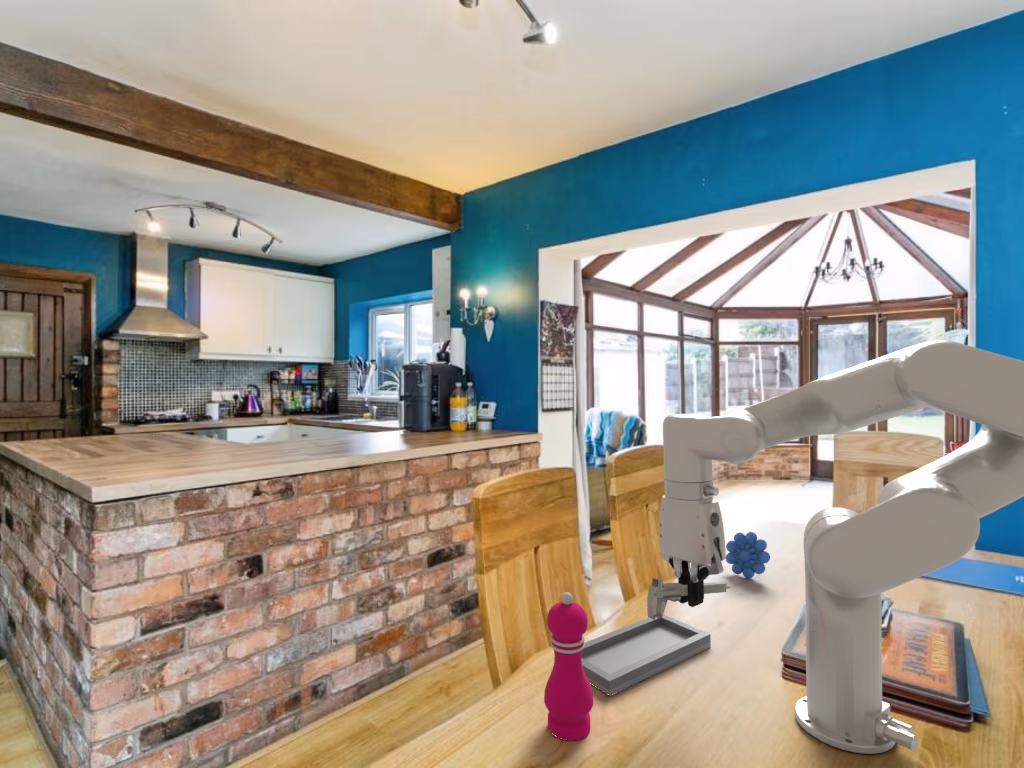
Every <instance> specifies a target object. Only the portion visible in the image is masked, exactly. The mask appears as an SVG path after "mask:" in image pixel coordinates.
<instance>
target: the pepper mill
mask: <svg viewBox="0 0 1024 768" xmlns="http://www.w3.org/2000/svg"><path fill="white" fill-rule="evenodd" d="M560 600H561V601H559V602H557V603H556V602H555V604H553V605H552V606H551V607H550V609H549V610H548V612H547V617H546V625H547V628H548V631H549V632H550V633H551V635H550V647H551V649H553V651H554V657H553V658H554V660H553V661H554V662H553V667H552V669H551V673H550V675H549V677H548V680H547V681H546V685H545V688H544V694H543V695H544V697H543V700H544V705H545V708H546V710H547V711H548V713H547V729H548V728H549V729H548V731H549V730H550V731H549V733H550V732H551V733H553V734H554V735H556V736H557V737H559V738H562V739H567V740H575V741H579V740H578V739H580V740H582V739H583V738H586V737H587V736H588V735H589V733H590V732H591V715H590V712H591V710H592V709H593V706H594V695H593V694H594V693H593V689H592V685H590V683H589V681H588V679H587V677H586V675H585V672H584V670H583V666H582V659H581V654H582V650H583V648H584V647H585V635H584V634H585V633H586V631H587V629H588V624H589V622H588V621H589V620H588V615H587V613H586V610H585V609H584V607H583V606H582V605H580V604H579V603H577V602H575V601H574V597H573V595H572V593H570V592H567V591H566V592H562V594H561V596H560ZM551 733H550V734H551ZM557 737H556V738H557ZM559 738H558V739H559Z"/></svg>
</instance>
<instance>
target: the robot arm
mask: <svg viewBox="0 0 1024 768" xmlns="http://www.w3.org/2000/svg"><path fill="white" fill-rule="evenodd" d="M930 407H931V408H934V409H936V410H939V411H942V412H945V413H948V414H950V415H954V416H957V417H959V418H961V419H962V418H963V419H964V420H968V421H971V422H974V423H978V424H980V425H981V426H980V428H979V430H978V432H977V433H976V435H975V436H974V437H972V438H971V440H969V441H968V442H967V443H965V444H963V445H961V446H960V447H958V448H956V449H955V450H953V451H951V452H949V453H948V454H946V455H944V456H942V457H939V458H938V459H935V460H933V461H932V462H930V463H928V464H925V465H923V466H922V467H919V468H917V469H915V470H912V471H911V472H908V473H906V474H903V475H901V476H898V477H897V478H895V479H893V480H890V481H889V482H888V483H886V484H885V485H884V486H883V487H882V488H881V490H880V491H879V493H878V494H877V495H878V496H877V498H876V505H874V506H872V507H870V508H868V509H866V510H864V511H861V512H860V513H858V512H857V511H855V510H852V509H849V508H846V507H845V508H844V507H837V506H836V507H827V508H825V509H821V510H820V511H818V512H816V513H815V514H814V515H813V516H811V518H810V519H809V520H808V522H807V524H806V526H805V529H804V533H803V554H804V578H805V580H804V583H805V584H804V585H805V586H804V587H805V588H804V589H805V613H804V614H805V672H806V673H805V674H806V675H805V676H806V677H805V679H806V681H805V682H806V685H805V688H806V692H805V693H806V696H803V697H801V698H800V699H798V700H797V702H796V703H795V707H794V708H795V709H794V712H795V719H796V720H797V723H798V724H799V725H800V726H801V728H802V729H803V730H805V731H806V733H808V734H809V735H811V736H812V737H814V738H815V739H817V740H819V741H820V742H823V743H824V744H828V746H831V747H834V748H836V749H837V748H838V749H840V750H843V751H846V752H847V751H848V752H851V753H857V754H868V755H869V754H870V755H871V754H881V753H884V752H888V751H890V750H891V749H893V748H894V746H895V745H896V744H897V745H899V746H901V747H903V748H906V749H907V750H911V751H913V752H914V751H915V750H916V748H917V744H918V737H917V735H916V734H913V732H914V727H913V725H911V724H908V723H906V722H903V721H900V720H898V719H895V718H894V715H891V705H890V703H888V702H886V701H883V669H882V668H883V660H882V659H883V658H882V657H883V653H882V642H883V641H882V629H883V627H882V626H883V619H882V617H883V616H882V615H883V613H882V593H885V592H887V591H889V590H892V589H895V588H897V587H899V586H902V585H904V584H907V583H909V582H912V581H914V580H916V579H919V578H921V577H923V576H926V575H928V574H931V573H933V572H935V571H937V570H940V569H942V568H945V567H947V566H949V565H952V564H953V563H955V562H957V561H959V560H960V559H961V558H963V557H964V556H966V554H968V553H969V552H970V550H972V549H973V547H974V546H975V545H976V543H977V541H978V539H979V536H980V533H981V532H980V531H981V524H980V523H981V522H980V519H982V518H984V517H985V516H988V515H990V514H992V513H994V512H997V510H1000V509H1001V508H1003V507H1006V506H1007V505H1009V504H1012V503H1014V502H1016V501H1017V500H1019V499H1021V498H1023V497H1024V360H1023V359H1017V358H1014V357H1010V356H1006V355H1004V354H999V353H995V352H992V351H989V350H985V349H982V348H977V347H974V346H973V345H972V346H970V345H968V344H964V343H961V342H957V341H952V340H943V339H941V340H939V339H936V340H932V341H931V340H930V341H926V342H921V343H917V344H915V345H914V344H913V345H910V346H908V347H904V348H902V349H899V350H896V351H894V352H891V353H888V354H884V355H882V356H879V357H877V358H874V359H872V360H868V361H865V362H863V363H859V364H857V365H854V366H852V367H848V368H845V369H843V370H840V371H837V372H835V373H831V374H828V375H825V376H822V377H820V378H818V379H815V380H813V381H810V382H807V383H805V384H804V385H801V386H800V387H797V388H795V389H792V390H790V391H788V392H785V393H783V394H780V395H777V396H776V395H775V396H773V397H771V398H767V399H766V400H763V401H760V402H756V403H754V404H751V405H748V406H745V407H742V408H740V409H739V408H738V409H737V410H733V411H730V412H728V413H726V414H724V415H719V416H707V415H704V414H700V413H699V414H698V413H675V414H669V415H667V416H666V417H665V418H664V419H663V423H662V438H663V439H662V444H663V445H662V446H663V477H664V478H663V479H664V486H663V487H664V494H663V495H662V497H661V502H660V507H659V517H658V545H659V551H660V552H659V555H660V558H661V559H663V560H664V561H666V562H667V563H669V565H670V566H671V568H672V569H673V572H674V576H675V578H677V581H678V582H677V583H680V584H682V585H688V596H681V601H678V602H679V603H680V604H686V603H687V604H688V606H689V607H691V608H694V607H696V606H700V605H702V604H703V603H704V599H705V594H704V583H705V582H704V580H707V578H708V577H709V576H713V575H714V576H717V575H719V574H722V573H724V567H723V561H724V560H726V559H725V557H726V555H727V554H726V553H727V551H726V550H727V549H726V538H725V530H724V529H725V528H724V521H723V515H722V510H721V508H720V504H719V501H718V500H717V499H714V497H717V496H718V495H719V491H720V490H719V488H718V487H716V486H714V481H713V461H718V462H723V463H730V464H743V463H747V462H749V461H752V460H753V459H754V458H756V457H757V455H758V454H759V453H760V451H762V450H766V449H768V448H772V447H774V446H777V445H781V444H784V443H788V442H791V441H794V440H798V439H802V438H806V437H807V438H808V437H812V436H813V437H814V436H821V435H826V436H828V435H829V436H830V435H839V434H843V433H849V432H851V431H856V430H858V429H861V428H864V427H868V426H871V425H874V424H876V423H877V424H878V423H880V422H884V421H886V420H890V419H892V418H896V417H900V416H902V415H903V416H904V415H906V414H909V413H913V412H917V411H920V410H922V409H923V410H924V409H926V408H930Z"/></svg>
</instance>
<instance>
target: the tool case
mask: <svg viewBox="0 0 1024 768" xmlns="http://www.w3.org/2000/svg"><path fill="white" fill-rule="evenodd" d="M584 643H585V647H584V648H583V650H582V654H581V659H582V666H583V670H584V672H585V675H586V677H587V679H588V681H589V683H591V684H593V685H594V686H596V687H597V688H599V689H601V690H602V691H604V692H605V693H607V694H609V696H608V697H611V696H610V695H612V694H614V693H616V692H618V691H620V692H622V691H624V690H626V689H628V688H630V687H632V686H634V685H636V684H638V683H640V681H641V682H643V681H644V679H645V680H646V678H647V679H649V678H651V677H653V676H655V675H657V674H658V673H661V672H663V671H664V670H666V669H669V668H671V667H673V666H675V665H677V664H680V663H682V662H684V661H685V660H688V659H689V658H691V657H693V656H696V655H697V654H700V653H702V652H703V651H706V650H708V649H710V648H711V646H712V645H711V643H712V642H711V633H709V632H707V631H705V630H702V629H699V628H697V627H695V626H692V625H690V624H688V623H685V622H683V621H680V620H678V619H676V618H673V617H671V616H668V615H665V614H663V617H662V618H661V619H659V618H657V617H655V620H654V619H652V618H649V617H648V616H647V617H645V618H643V619H641V620H639V621H636V622H634V623H631V624H628V625H626V626H624V627H621V628H618V629H616V630H613V631H610V632H608V633H605V634H603V635H600V636H599V637H596V638H593V639H590V640H589V641H586V642H585V641H584ZM656 673H657V674H656ZM652 675H653V676H652ZM648 677H649V678H648ZM642 680H643V681H642ZM631 685H632V686H631ZM594 686H593V687H594ZM629 686H630V687H629ZM627 687H628V688H627ZM597 688H596V689H597ZM625 688H626V689H625ZM623 689H624V690H623ZM621 690H622V691H621ZM602 691H601V692H602ZM605 693H604V694H605ZM618 693H619V692H618ZM616 694H617V693H616ZM614 695H615V694H614ZM612 696H613V695H612Z"/></svg>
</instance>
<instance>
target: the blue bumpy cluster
mask: <svg viewBox="0 0 1024 768" xmlns="http://www.w3.org/2000/svg"><path fill="white" fill-rule="evenodd" d="M767 546H768V543H767V541H766V540H764V539H762V538H760V539H759V538H758V536H757V533H755V532H753V531H749V532H747V533H746V534H744V533H742V532H739V531H738V532H736V534H735V535H734V536H733V540H730V541H728V542H727V543H726V544H725V549H726V550H727V552H728V553H727V554H726V556H725V559H724V560H725V562H726V563H727V564H729V565H731V570H732V573H733V574H735V575H741V574H742V576H743V577H744V578H745V579H752V578H753V577H754V576H755V574H757V575H762V574H763V573H764V572H765V571H766V565H765V564H767V563H769V562H770V560H771V556H770V553H769V552H768V551H765V550H766V549H767Z"/></svg>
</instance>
